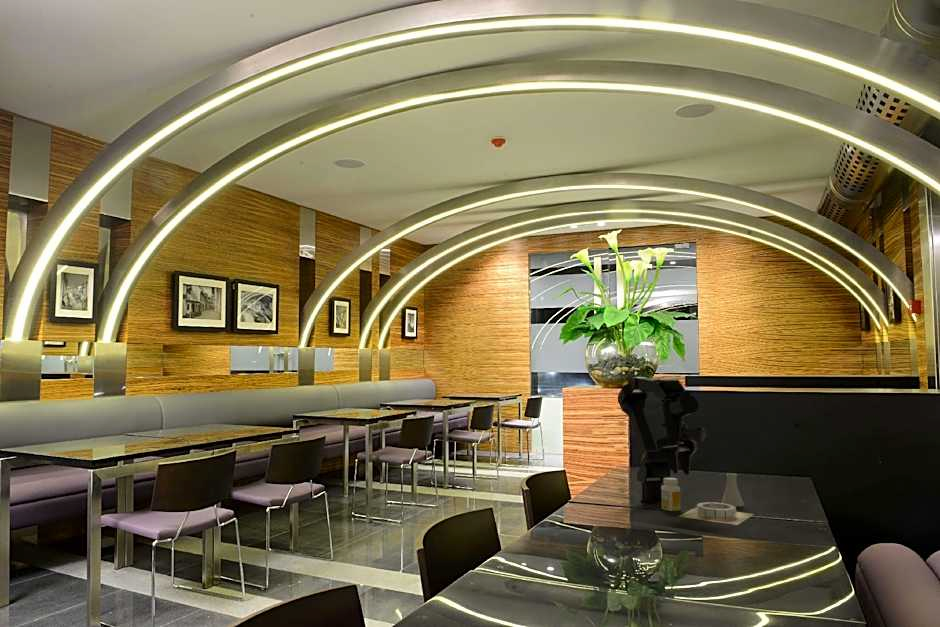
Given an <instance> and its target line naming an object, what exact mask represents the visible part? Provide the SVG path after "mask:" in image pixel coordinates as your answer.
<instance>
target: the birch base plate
mask: <svg viewBox="0 0 940 627" xmlns="http://www.w3.org/2000/svg"><path fill="white" fill-rule="evenodd" d="M754 515H755V513H748V512H743V511H741V512H740V511H736V517H735V518H734V519H711V518H705V517H702V516H699V515H698V514H697V506H696V507H694V508H691V509H689V510H687V511H685V512H684V513H681V514H680V515H678V516H677V517H679V518H687V519H693V520H700V521H708V522H714V523H719V524H720V523H721V524H725V525H727V524H728V525H734V526H738V525H740V524H742V523H743V522H745V521H746V520H748V519H749V518H751V517H753V516H754Z"/></svg>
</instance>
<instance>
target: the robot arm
mask: <svg viewBox="0 0 940 627" xmlns="http://www.w3.org/2000/svg"><path fill="white" fill-rule="evenodd" d="M648 392H650V393H653V396H655V397H657V398H658V399H661V401H660V403H659V404H658V406H657V408H658V409H661V414H662V422H663V423H662V424H661V428H662V429H664V435H665V436H658V437H657V438H656V439H654V436H653V432H652V431H651V428H650V425H649V423H648V420H647V417H646V414H645V408H646V401H647V398H648V396H649V395H648ZM617 403H618V404H619V407H620V409H621V411H622V412H623V413H624V414H625V415H627V416H628V417H629V418H630V422H631V424H632V428H633V432H634V433H635V437H636V440H637V442H638V445H639V448H640V451H641V453H642V454H641V455H642V456H641V459H640V462H639V463H640V467H639V469H638V471H637V473H636V479H637V482H640V483H641V499H639V502H641V503H649V504H656V503H658V502H662V501H661V487H662V486H663V485H664V482H663V480H664V478H671V473H673V474H678V473H679V465H680V467H681V469H682V471H683V473H684V475H686V476H688V475H690V470H691V462H692V456H693V455H694V454H695V453H696V452H697V450H699V447H698V443H697V442H696V441H698V442H701V443H704V442H705V439H706V438H707V436H708V435H707V431H705V428H704V427H700V426H696V427H695V428H693V427H688V424H687V422H684V417H686V416H690V415H692V414H694V413H696V412H697V411H698V409H699V402H698V401H697V399H696V397H695V396H694V395H692V394H691V391H690V390H686V389H685V386H683V384H682V383H681V381H680V380H679V379H678V378H658V379H655V378H648V377H646V376H633V377H631V378H630V380H629V382H628V383H627V384H625V385H624V386H623V387H621V389H620V391H619V393H618V395H617Z"/></svg>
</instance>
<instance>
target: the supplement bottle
mask: <svg viewBox="0 0 940 627" xmlns="http://www.w3.org/2000/svg"><path fill="white" fill-rule="evenodd" d="M663 482H664V485H663V486H662V487H661V501H660V502H661V510H664V511H668V512H679V511H681V510H682V506H681V505H682V504H681V503H682V502H681V499H682V498H681V487H680V486H678V483H679V481H678V478H676V477H670V478H664V480H663Z"/></svg>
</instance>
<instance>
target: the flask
mask: <svg viewBox="0 0 940 627" xmlns="http://www.w3.org/2000/svg"><path fill="white" fill-rule="evenodd" d="M725 476H726V486H725V490H724V494H723V496H722V500H721V502H720V503H724V504H729V505H733V506H735V507H736V508H738V507H744V505H745V503H744V501H743V499H742V496H741V493H740V490H739V487H738V484H737V477H738V474H737V473H733V472H732V473H730V472H729V473H728V472H727V473H725Z"/></svg>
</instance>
